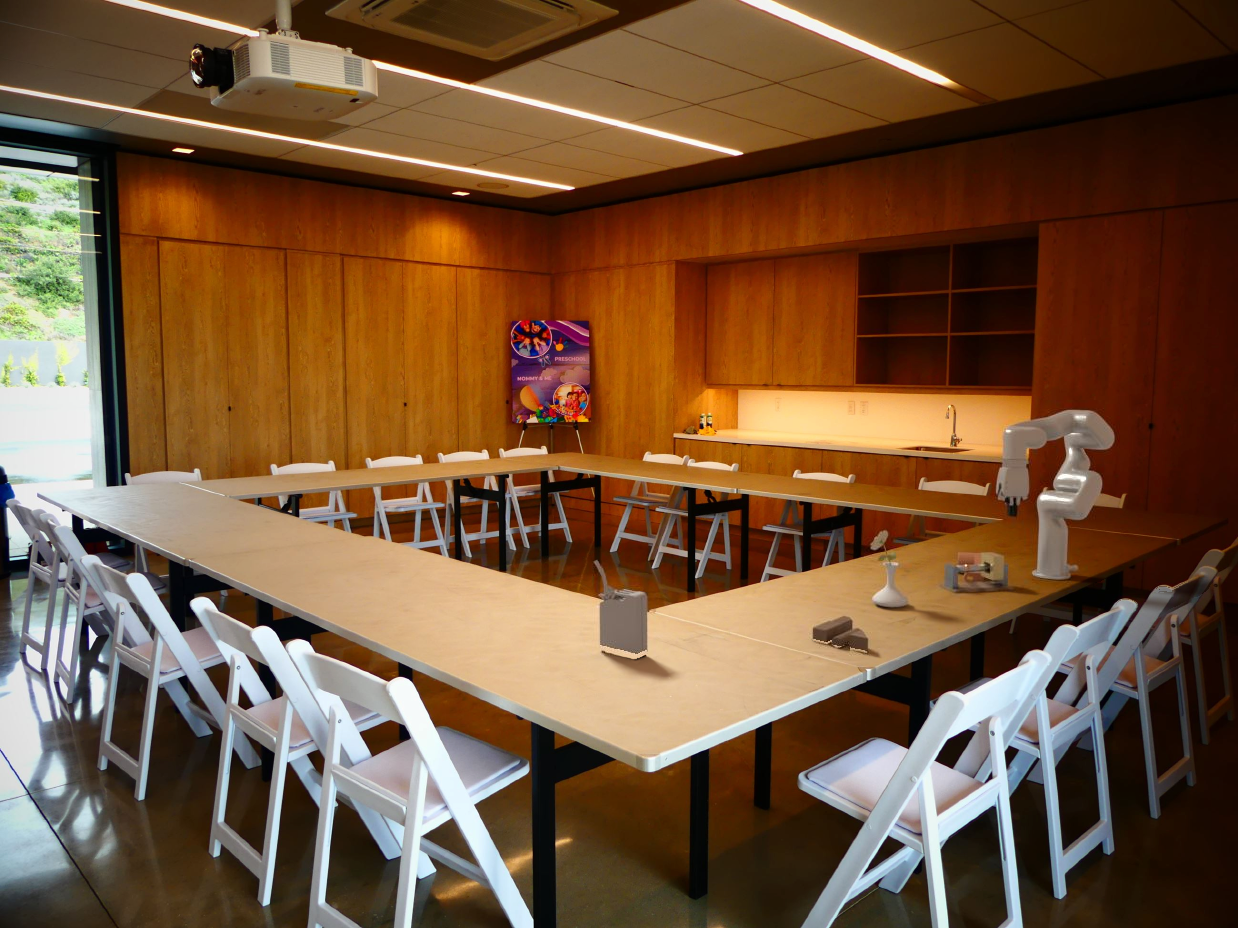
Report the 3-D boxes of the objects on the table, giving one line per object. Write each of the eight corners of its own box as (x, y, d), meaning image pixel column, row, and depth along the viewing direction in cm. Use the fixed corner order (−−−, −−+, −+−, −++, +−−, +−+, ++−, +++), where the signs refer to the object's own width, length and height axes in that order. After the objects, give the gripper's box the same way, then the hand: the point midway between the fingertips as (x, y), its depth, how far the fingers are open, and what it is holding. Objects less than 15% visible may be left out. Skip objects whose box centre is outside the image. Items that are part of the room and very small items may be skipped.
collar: (990, 574, 310) (991, 552, 309) (1003, 579, 302) (1004, 556, 302) (980, 575, 309) (981, 552, 308) (992, 580, 302) (993, 556, 301)
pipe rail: (998, 584, 309) (999, 561, 308) (1007, 587, 304) (1008, 564, 303) (944, 587, 305) (945, 563, 305) (952, 591, 300) (953, 566, 300)
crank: (957, 570, 332) (957, 550, 332) (979, 572, 330) (980, 551, 329) (959, 582, 313) (960, 561, 313) (983, 584, 311) (984, 562, 310)
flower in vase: (893, 599, 290) (895, 525, 288) (916, 607, 280) (918, 531, 277) (860, 603, 286) (861, 528, 283) (882, 612, 275) (884, 534, 272)
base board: (995, 582, 312) (995, 580, 312) (1013, 589, 302) (1013, 587, 302) (939, 586, 308) (939, 583, 308) (955, 593, 298) (955, 590, 298)
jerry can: (592, 649, 240) (591, 560, 237) (603, 645, 244) (602, 557, 241) (636, 661, 230) (635, 568, 228) (647, 656, 234) (647, 564, 232)
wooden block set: (810, 624, 245) (842, 611, 258) (810, 643, 246) (842, 630, 259) (866, 636, 233) (896, 621, 246) (865, 656, 234) (896, 641, 247)
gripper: (1026, 462, 308) (1024, 513, 310) (988, 463, 305) (986, 515, 307) (1040, 464, 300) (1038, 517, 302) (1001, 465, 298) (999, 518, 300)
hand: (1012, 516), depth 305 cm, fingers closed
